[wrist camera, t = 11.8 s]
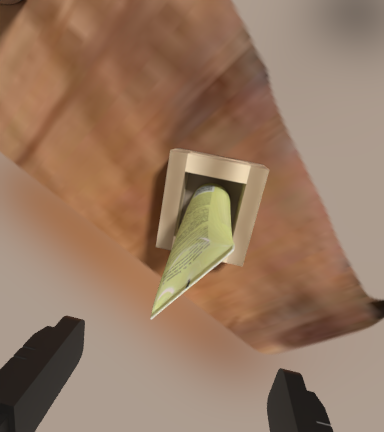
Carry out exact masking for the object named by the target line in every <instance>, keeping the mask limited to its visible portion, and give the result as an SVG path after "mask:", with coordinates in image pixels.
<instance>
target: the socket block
mask: <svg viewBox="0 0 384 432" xmlns="http://www.w3.org/2000/svg"><path fill="white" fill-rule="evenodd" d="M268 173H269V169H268V168H266V167H265V166H264V165H262V164H257V163H252V162H247V161H242V160H237V159H232V158H227V157H222V156H217V155H212V154H207V153H202V152H196V151H191V150H186V149H181V148H176V149H173V150H170V156H169V163H168V169H167V176H166V182H165V189H164V196H163V202H162V209H161V216H160V222H159V229H158V236H157V242H156V247H158V248H162V249H167V250H172V247H173V244H174V241H175V239H176V236H177V233H178V231H179V228H180V225H181V223H182V220H183V218H184V215H185V213H186V210H187V208H188V206H189V203H190V201H191V199H192V197H193V195H194V193H195V191H196V190H197V189H198V188H199V187H200V186H202V185H204V184H208V183H214V184H218V185H220V186H222V187H223V188H224V189H225V190H226V191H227V193H228V194H229V197H230V215H231V230H232V238H233V242H234V244H235V248H234V251H233V252H232V253H231V254H230V255H229V256H228V257H227V258H226V259H224V260H223V261H222V262H225V263H229V264H233V265H238V266H242V267H243V263H244V259H245V256H246V252H247V249H248V245H249V241H250V238H251V234H252V230H253V227H254V223H255V220H256V216H257V212H258V209H259V205H260V202H261V198H262V194H263V191H264V187H265V183H266V180H267V176H268Z"/></svg>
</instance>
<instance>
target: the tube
mask: <svg viewBox="0 0 384 432" xmlns="http://www.w3.org/2000/svg"><path fill="white" fill-rule="evenodd" d="M234 248H235V244H234V242H233V238H232V230H231V215H230V197H229V194H228V193H227V191H226V190H225V189H224V188H223V187H222V186H220V185H218V184H214V183H208V184H204V185H202V186H200V187H199V188H198V189H197V190H196V191H195V193H194V195H193V197H192V199H191V201H190V203H189V206H188V208H187V210H186V213H185V215H184V218H183V220H182V223H181V225H180V228H179V231H178V233H177V236H176V239H175V241H174V244H173V247H172V250H171V252H170V255H169V258H168V261H167V264H166V267H165V270H164V273H163V276H162V278H161V281H160V285H159V288H158V291H157V294H156V298H155V301H154V305H153V309H152V315H151V318H150V319H153V318H154V317H155V316H156V315H157V314H159V313H160V312H161V311H162V310H163V309H164V308H165V307H167V306H168V305H169V304H171V303H172V302H173V301H174V300H175V299H177V298H178V297H179V296H180V295H182V294H183V293H184V292H185V291H186V290H187V289H189V288H190V287H191V286H192V285H194V284H195V283H196V282H197V281H199V280H200V279H201V278H202V277H203V276H205V275H206V274H207V273H208V272H209V271H211V270H212V269H213V268H214V267H216V266H217V265H218V264H220V263H221V262H222V261H223V260H224V259H226V258H227V257H228V256H229V255H230V254H231V253H232V252H233V251H234Z"/></svg>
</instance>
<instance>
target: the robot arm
mask: <svg viewBox="0 0 384 432" xmlns="http://www.w3.org/2000/svg"><path fill="white" fill-rule="evenodd" d="M19 1H21V0H0V3H1V4H14V3H17V2H19ZM84 328H85V321H84V320H82V319H78V318H74V317H70V316H64V317H63V318H62V319H61V320H60V322H58V324H57V325H56V326H55V327H50V326H47V327H45V328H43V329H42V330H40V331H38V332H37V333H35V334H34V335H33V336H32V337H31V338H30V339H29V340H28V341H27V342H26V343H25V344H24V345H23V347H22V348H20V349H19V350H18V351H17V352H16V353H15V354H14V357H12V358H11V359H10V360H9V361H8V362H7V363H6V364H5V365H4V366H3V367H2V368H1V369H0V432H35V430H36V429H37V427H38V425H39V424H40V422H41V421H42V419H43V418H44V416H45V415H46V413H47V411H48V409H49V408H50V407H51V405H52V404H53V402H54V400H55V399H56V397H57V396H58V394H59V393H60V391H61V389H62V388H63V386H64V385H65V383H66V382H67V380H68V378H69V377H70V375H71V374H72V372H73V371H74V369H75V367H76V366H77V364H78V362H79V360H80V358H81V355H82V352H83V346H84V345H83V344H84ZM267 414H268V421H269V427H270V432H333V429H332V427H331V426H330V421H329V418H328V415H327V413H326V410H325V407H324V406H323V404H322V403H321V402H320V401H319V399H318V397H317V396H316V394H315V393H314V392H310V391H307V390H306V387H305V384H304V380H303V377H302V375H301V374H300V373H297V372H293V371H289V370H285V369H281V368H280V369H279V370H278V372H277V375H276V378H275V380H274V383H273V385H272V388H271V390H270V393H269V396H268V402H267Z"/></svg>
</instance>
